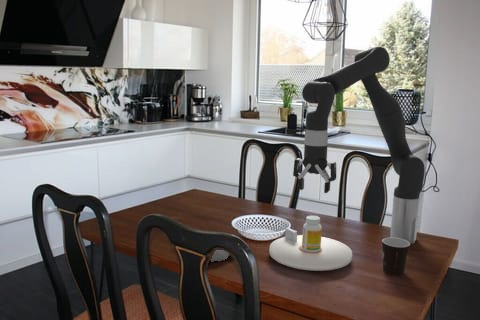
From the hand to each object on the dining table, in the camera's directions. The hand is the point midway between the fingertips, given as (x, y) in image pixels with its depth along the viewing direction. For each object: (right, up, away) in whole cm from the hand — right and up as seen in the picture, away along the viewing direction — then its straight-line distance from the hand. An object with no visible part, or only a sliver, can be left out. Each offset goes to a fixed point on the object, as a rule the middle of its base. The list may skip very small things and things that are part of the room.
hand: (313, 191), depth 161 cm
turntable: (-1, -22, +4) cm, 22 cm away
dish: (-34, -23, +6) cm, 41 cm away
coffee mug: (+24, -26, -6) cm, 36 cm away
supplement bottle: (0, -20, +4) cm, 21 cm away
